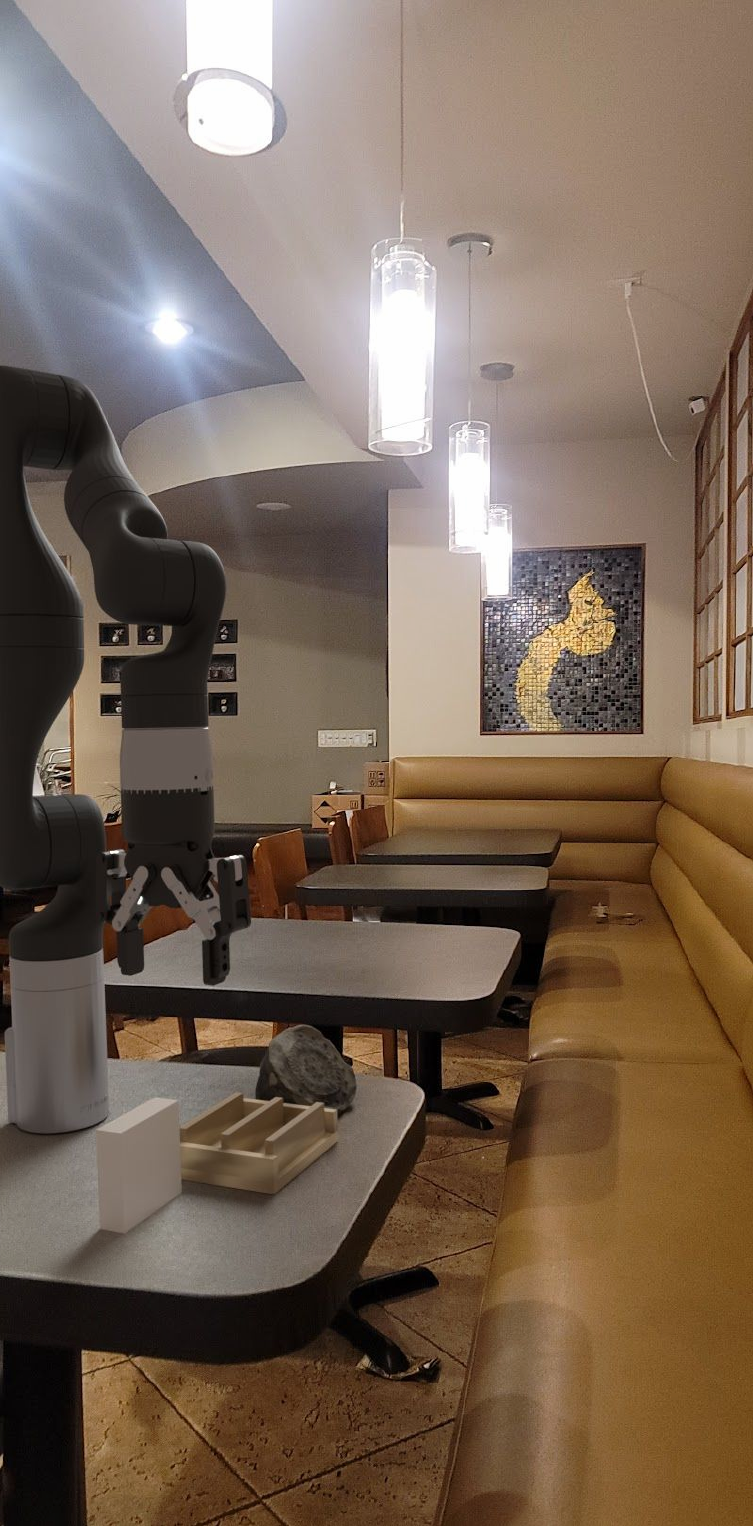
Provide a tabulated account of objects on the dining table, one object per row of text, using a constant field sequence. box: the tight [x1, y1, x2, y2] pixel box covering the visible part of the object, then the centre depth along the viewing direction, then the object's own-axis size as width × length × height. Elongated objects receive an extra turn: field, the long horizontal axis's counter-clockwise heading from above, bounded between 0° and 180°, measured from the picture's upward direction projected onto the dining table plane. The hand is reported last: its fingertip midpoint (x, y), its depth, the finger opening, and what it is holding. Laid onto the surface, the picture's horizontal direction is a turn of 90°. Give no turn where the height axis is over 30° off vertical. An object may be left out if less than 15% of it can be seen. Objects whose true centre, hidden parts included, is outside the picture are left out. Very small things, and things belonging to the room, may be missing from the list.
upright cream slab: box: [95, 1096, 183, 1234], centre depth 89 cm, size 2×8×8 cm, turn 157°
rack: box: [179, 1091, 339, 1195], centre depth 99 cm, size 11×13×4 cm
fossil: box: [254, 1024, 358, 1116], centre depth 112 cm, size 11×9×10 cm
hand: (173, 978), depth 90 cm, fingers open, 8 cm apart
